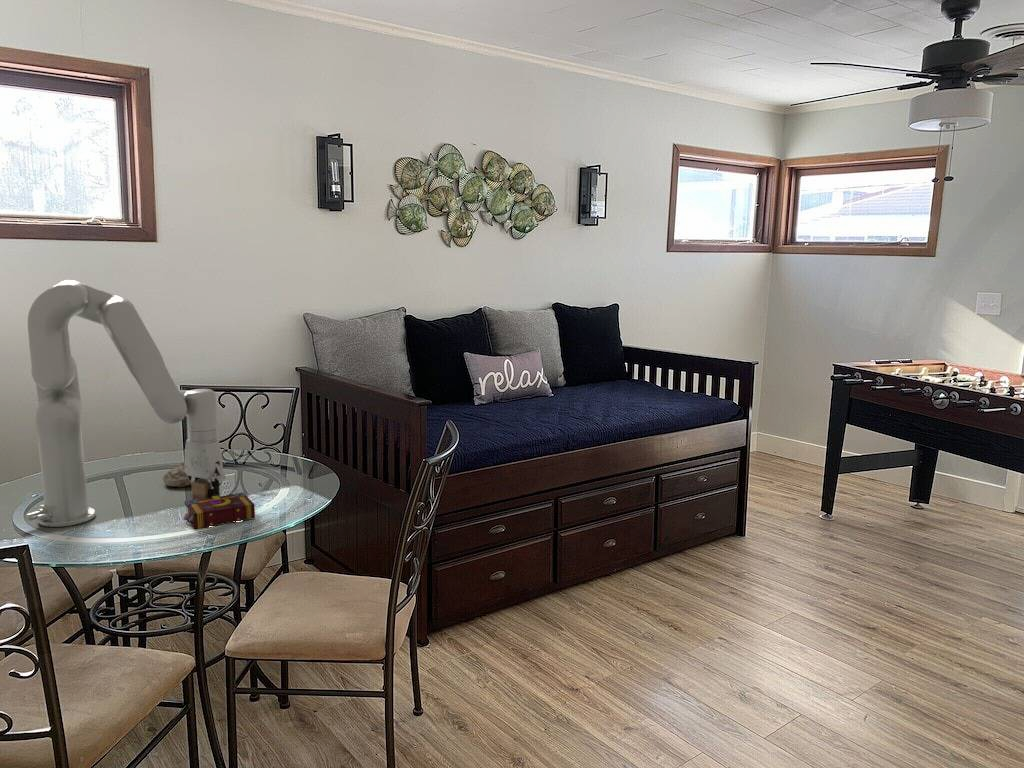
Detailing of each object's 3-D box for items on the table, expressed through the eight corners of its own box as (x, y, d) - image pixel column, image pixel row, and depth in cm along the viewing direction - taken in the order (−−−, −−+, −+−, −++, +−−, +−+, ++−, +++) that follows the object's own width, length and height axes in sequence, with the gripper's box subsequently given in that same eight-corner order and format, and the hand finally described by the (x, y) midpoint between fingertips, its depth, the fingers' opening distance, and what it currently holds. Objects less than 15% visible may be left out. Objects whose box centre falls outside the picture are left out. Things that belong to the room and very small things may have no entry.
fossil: (169, 490, 222) (155, 462, 225) (172, 502, 229) (159, 475, 232) (210, 473, 228) (196, 445, 231) (212, 485, 234) (199, 458, 238)
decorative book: (256, 520, 201) (255, 501, 200) (189, 532, 192) (188, 512, 192) (244, 508, 210) (244, 490, 210) (180, 518, 202) (179, 499, 201)
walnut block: (205, 506, 211) (204, 484, 210) (192, 503, 213) (191, 481, 212) (220, 501, 215) (219, 479, 214) (207, 498, 217) (206, 477, 216)
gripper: (169, 434, 211) (173, 498, 214) (214, 442, 203) (217, 509, 207) (192, 428, 218) (195, 491, 221) (236, 436, 210) (239, 501, 213)
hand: (206, 499), depth 214 cm, fingers closed on walnut block, 5 cm apart
